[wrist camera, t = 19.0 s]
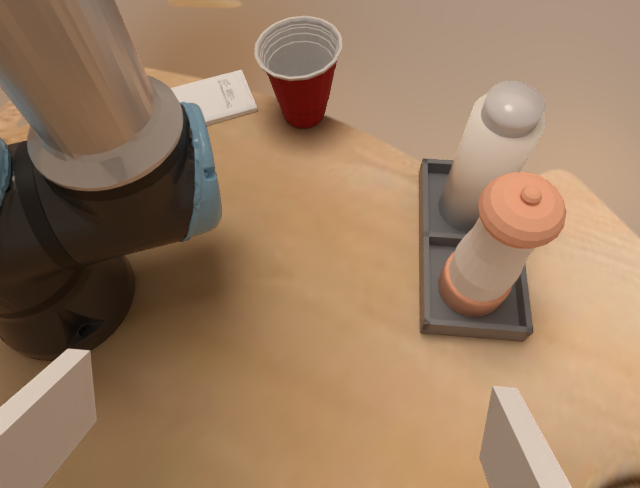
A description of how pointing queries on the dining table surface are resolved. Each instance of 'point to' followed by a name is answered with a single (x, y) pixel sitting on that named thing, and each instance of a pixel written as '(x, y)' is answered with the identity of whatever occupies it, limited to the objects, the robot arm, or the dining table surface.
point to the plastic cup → (300, 66)
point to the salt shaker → (491, 147)
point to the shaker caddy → (433, 254)
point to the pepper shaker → (501, 242)
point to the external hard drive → (219, 97)
